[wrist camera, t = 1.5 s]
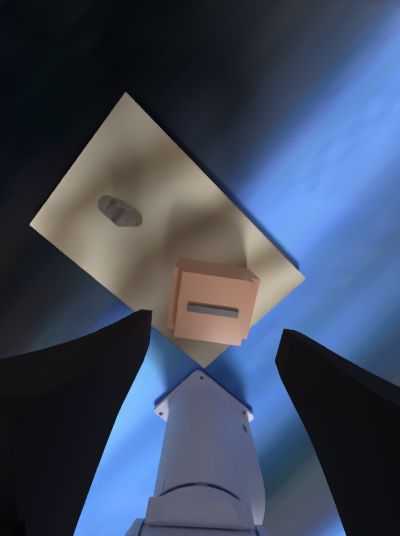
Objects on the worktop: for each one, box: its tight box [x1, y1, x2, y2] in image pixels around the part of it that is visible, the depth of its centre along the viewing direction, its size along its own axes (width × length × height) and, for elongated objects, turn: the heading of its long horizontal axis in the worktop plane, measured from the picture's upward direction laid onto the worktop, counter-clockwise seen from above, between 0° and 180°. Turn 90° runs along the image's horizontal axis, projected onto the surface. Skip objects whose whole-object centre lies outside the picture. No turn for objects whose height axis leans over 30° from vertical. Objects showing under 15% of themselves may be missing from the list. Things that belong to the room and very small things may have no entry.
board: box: [30, 92, 306, 369], centre depth 16 cm, size 22×14×4 cm, turn 46°
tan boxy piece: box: [167, 258, 260, 346], centre depth 16 cm, size 6×5×5 cm
